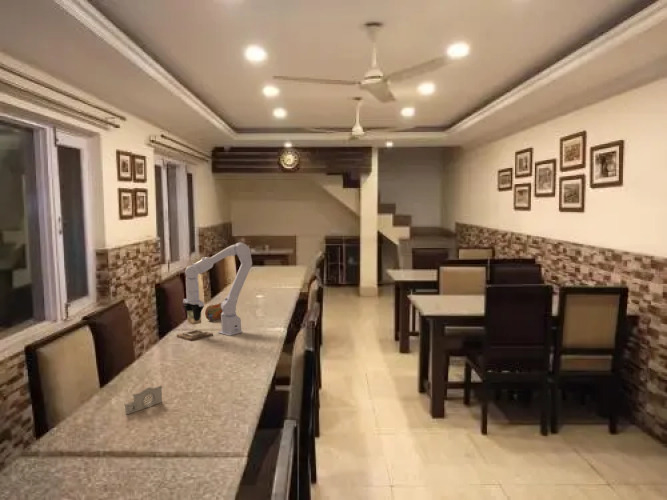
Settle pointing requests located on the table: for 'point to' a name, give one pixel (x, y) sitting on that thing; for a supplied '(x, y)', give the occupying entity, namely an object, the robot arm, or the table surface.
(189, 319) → the stack
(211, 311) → the tin
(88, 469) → the table surface
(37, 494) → the table surface
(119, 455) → the table surface
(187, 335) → the plate
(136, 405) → the garden wall model
